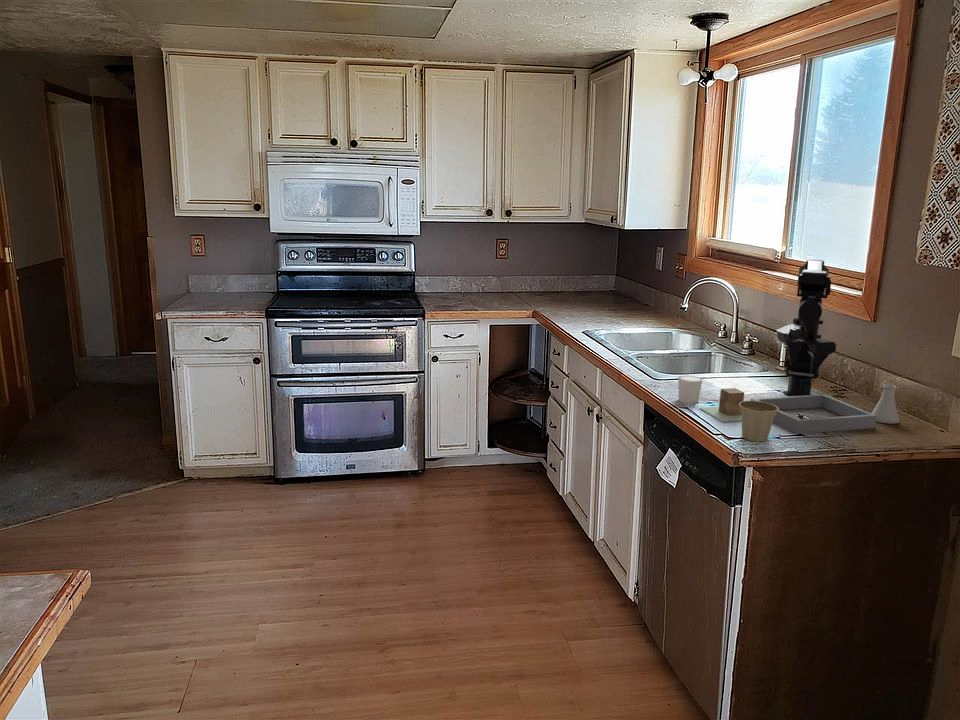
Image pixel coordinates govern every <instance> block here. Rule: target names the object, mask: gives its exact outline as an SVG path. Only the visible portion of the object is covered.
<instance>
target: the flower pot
mask: <svg viewBox="0 0 960 720" xmlns="http://www.w3.org/2000/svg"><path fill="white" fill-rule="evenodd" d="M739 406H740V411H741V416H742V421H741V437H742V438H743V439H744V440H745V439H747V440H748V441H750V442H755V443H762V442H763V443H764V441H765V442H767V441H768V439H769V436H770V432H771V429H772V425H773V423H774V422H773V419H774V416H775V415H776V412H777V411H778V410H779V408H778V407H777V406H775V405H773V404H770V403H766V402H761V401H751V400H744V401H742V402H740V403H739Z"/></svg>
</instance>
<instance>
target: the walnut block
mask: <svg viewBox="0 0 960 720" xmlns="http://www.w3.org/2000/svg"><path fill="white" fill-rule="evenodd" d="M744 398H745V391H742V390H740V389H738V388H736V387H731V388H720V396H719V403H718V407H719V411H720V412H721V413H723V414H725V415H727V416H733V415H741V411H740V406H739V403H740V402H742V401H745V399H744Z"/></svg>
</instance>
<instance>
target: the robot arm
mask: <svg viewBox="0 0 960 720" xmlns="http://www.w3.org/2000/svg"><path fill="white" fill-rule="evenodd" d="M805 262H806V263H805V264H803V265H802V266H800V267H799V269H798V276H797V291H796V297H800V299H799V307H798V314H797V317H794V319H792V323H791V324H787V325H785V326H783V327H780V328H777V329H776V336H777V337H776V338H777V339H778V341H779V342H780V343H782V344H783V345H784V346H785V349H786V351H787V363H786V371H785V373H786V374H785V376H786V377H789V378H788V383H787V385H788V386H787V390H783V392H782V393H783V394H785V395H787V396H804V395H812V394H811V391H812V380H816V379H819V373H820V367H821V365H822V364H823V363H824V361H825V360H826V359H827V358H828V356H829V355H832V354H833V353H836V352H837V346H838V345H837V344H836V342H835V341H833V340H830V339H827V338H822V334H819V328H820V325H823V324H824V320H822V319H821V317H822V313H823V299H828V296H830V295H831V287H832V280H831V277H830V275H829V274H830V273H829V272H830V270H829V268H828V267H827V266H826V265H825V260H823V259H816V258H809V259H806V260H805Z"/></svg>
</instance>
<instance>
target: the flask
mask: <svg viewBox="0 0 960 720" xmlns="http://www.w3.org/2000/svg"><path fill="white" fill-rule="evenodd" d="M882 386H883V391H882V394H881V396H880V399H879V400H878V402H877V404H876V405H875V407H874V409H873V410H872V412H871V413H872V414H874V415H876V416H877V418H876V423H881V424H891V425H894V424H900V418H899V415H898V410H897V405H896V401H895V399H896V398H895V393H896V392H895V391H896V389H897V386H896V385H893V384H882Z"/></svg>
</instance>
